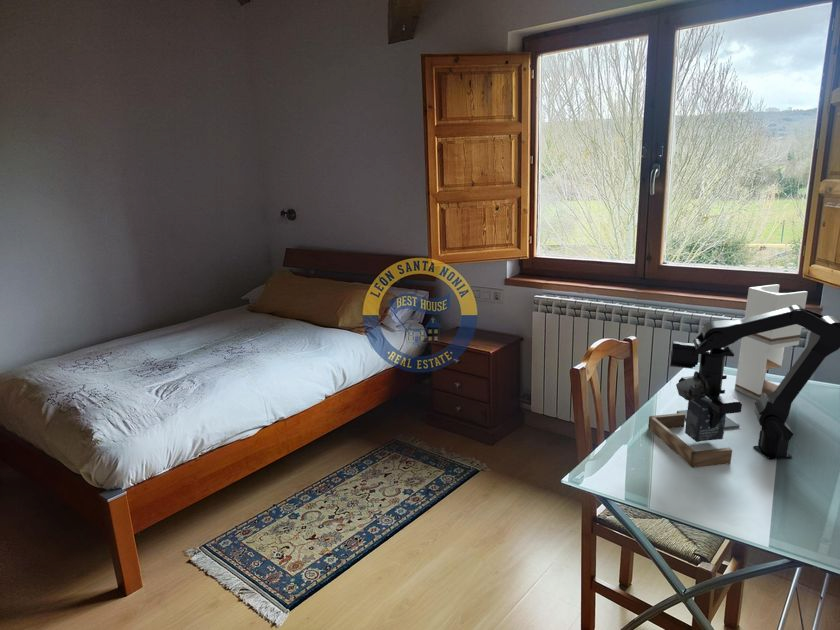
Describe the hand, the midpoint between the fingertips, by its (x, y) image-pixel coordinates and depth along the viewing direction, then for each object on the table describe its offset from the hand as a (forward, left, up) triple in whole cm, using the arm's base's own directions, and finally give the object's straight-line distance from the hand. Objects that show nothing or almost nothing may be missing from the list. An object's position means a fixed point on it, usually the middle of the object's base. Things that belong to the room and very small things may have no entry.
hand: (705, 422), depth 152 cm
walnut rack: (0, +4, -6) cm, 8 cm away
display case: (+26, -39, -7) cm, 47 cm away
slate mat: (+12, -10, -6) cm, 17 cm away
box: (0, 0, -4) cm, 4 cm away
